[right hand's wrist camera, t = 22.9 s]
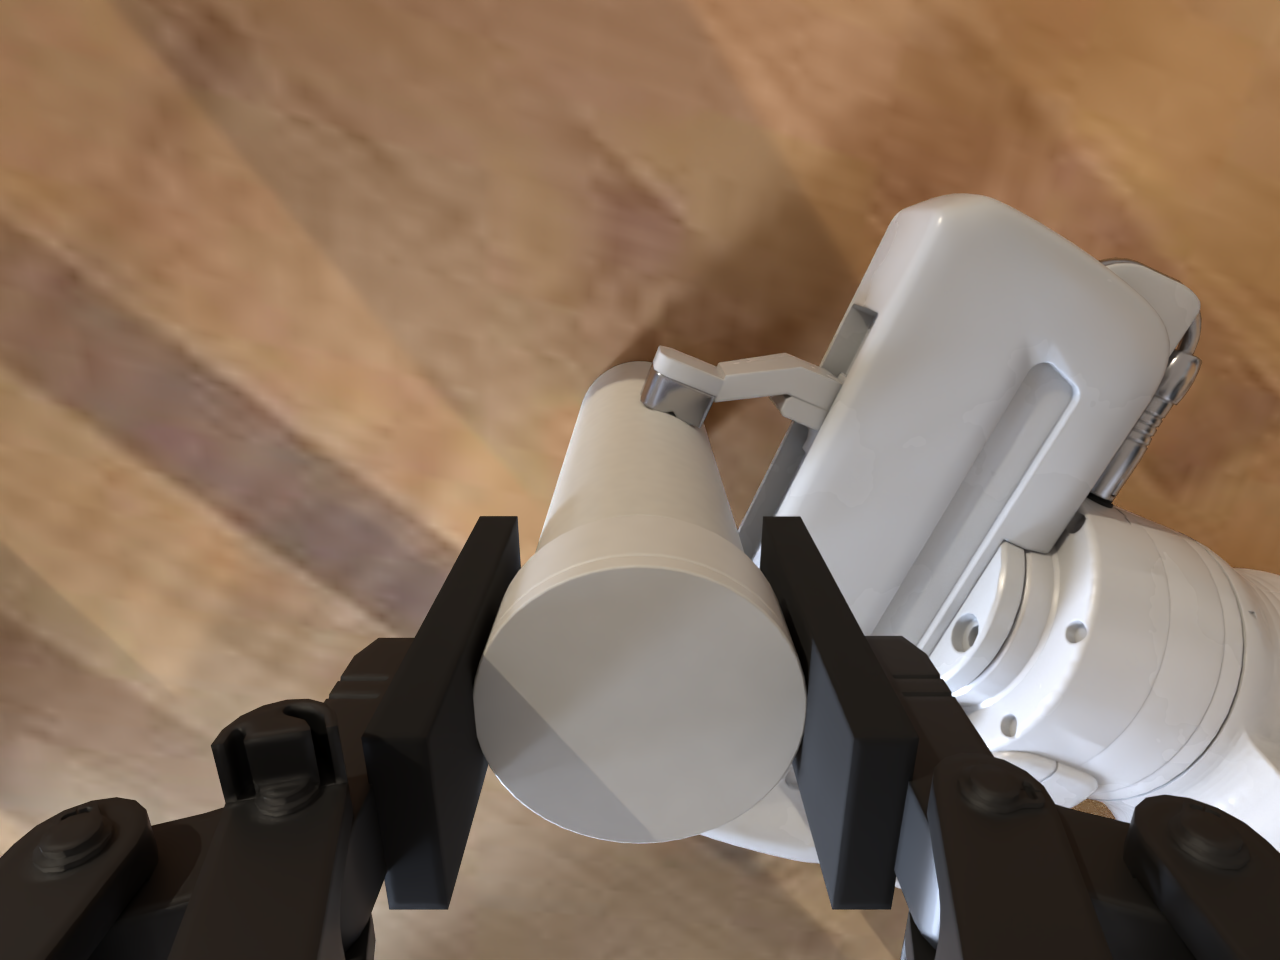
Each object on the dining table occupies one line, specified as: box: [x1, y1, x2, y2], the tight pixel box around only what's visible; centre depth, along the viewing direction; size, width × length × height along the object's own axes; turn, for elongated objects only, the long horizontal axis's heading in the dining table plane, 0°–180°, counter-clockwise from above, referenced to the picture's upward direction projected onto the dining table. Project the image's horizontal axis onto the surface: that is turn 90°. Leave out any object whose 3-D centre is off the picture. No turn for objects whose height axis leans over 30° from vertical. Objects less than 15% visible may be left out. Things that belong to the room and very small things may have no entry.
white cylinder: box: [535, 361, 744, 553], centre depth 19 cm, size 4×4×16 cm
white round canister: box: [473, 515, 807, 843], centre depth 11 cm, size 5×5×2 cm
